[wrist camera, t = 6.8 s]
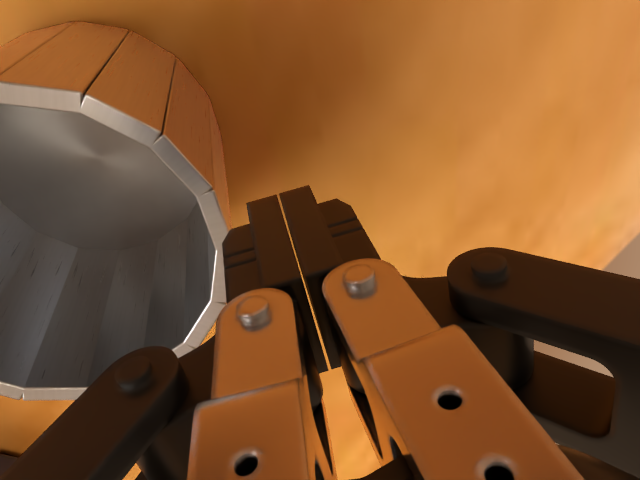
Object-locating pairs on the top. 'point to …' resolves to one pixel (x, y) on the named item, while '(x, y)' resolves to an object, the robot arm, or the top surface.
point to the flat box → (6, 462)
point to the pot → (103, 207)
